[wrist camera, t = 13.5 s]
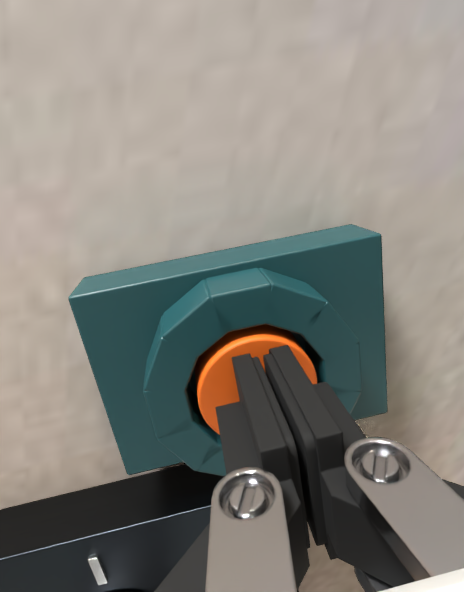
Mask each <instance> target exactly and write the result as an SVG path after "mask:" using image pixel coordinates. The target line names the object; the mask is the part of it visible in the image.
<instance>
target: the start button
mask: <svg viewBox="0 0 464 592" xmlns="http://www.w3.org/2000/svg"><path fill="white" fill-rule="evenodd" d="M284 345H288V346H289V348H290V349H291V351H292V352H293V354H294V356H295V357H296V359H297V360H298V362H299V364H300V365H301V367H302V368H303V370H304V372H305V373H306V375H307V376H308V378H309V379H310V381H311V383H312V384H317V376H316V371H315V368H314V366H313V364H312V362H311V360H310V359H309V357H308V356H307V354H306V353H305V352H304V350H303V349H302V347H301V346H300V344H299V343H298V342H297V340H296V339H295V337H294V336H293V335H292V333H291V332H290V331H288V330H284V329H281V328H277V327H274V326H271V325H267V324H264V325H259V326H255V327H250V328H246V329H241V330H236V331H232V332H228V333H227V334H226V335H224V336H223V337H222V338H221V339H220V340H218V341H217V342H216V343H215V344H214V345H212V346H211V347H210V348H209V349H207V350H206V351H205V352H204V353H203V354H201V355H200V356H199V357H198V359H197V362H196V365H195V379H196V388H197V397H198V405H199V409H200V412H201V414H202V416H203V418H204V420H205V421H206V423H207V424H208V425H209V426H210V427H211V428H212V429H213V430H214V431H215V432H216V433H217V434H219V435H220V433H219V427H218V421H217V415H216V408H215V407H217V406H222V405H226V404H231V403H235V402H239V401H240V400H239V394H238V389H237V384H236V379H235V373H234V368H233V363H232V357H235V356H239V355H244V354H248V353H250V355H251V357H252V358H253V357H257V356H258V358H259V360H260V362H261V364H262V367H263V369H264V371H265V366H264V360H263V355H266V354H269V349H271V348H275V347H280V346H284ZM265 374H266V372H265Z"/></svg>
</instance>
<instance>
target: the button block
mask: <svg viewBox="0 0 464 592" xmlns="http://www.w3.org/2000/svg"><path fill="white" fill-rule="evenodd" d="M69 302H70V305H71V308H72V311H73V314H74V317H75V320H76V323H77V326H78V329H79V332H80V335H81V338H82V341H83V344H84V347H85V350H86V353H87V356H88V359H89V362H90V365H91V368H92V371H93V374H94V377H95V379H96V382H97V385H98V388H99V391H100V394H101V397H102V400H103V403H104V406H105V409H106V412H107V415H108V418H109V421H110V424H111V427H112V430H113V433H114V436H115V439H116V442H117V445H118V448H119V451H120V454H121V457H122V460H123V463H124V466H125V469H126V472H127V474H128V475H132V474H136V473H140V472H144V471H149V470H153V469H157V468H161V467H165V466H169V465H173V464H177V463H181V462H184V463H186V464H187V465H188V466H189V467H190V468H192V469H193V470H194V471H198V472H203V473H208V474H214V475H219V476H225V475H227V474H226V468H225V462H224V456H223V450H222V444H221V438H220V435H219V434H217V433H216V432H215V431H214V430H213V429H212V428H211V427H210V426H209V425H208V424H207V423H206V421H205V420H204V418H203V416H202V414H201V412H200V409H199V405H198V397H197V388H196V379H195V365H196V362H197V359H198V357H199V356H200V355H201V354H203V353H204V352H205V351H206V350H207V349H209V348H210V347H211V346H212V345H214V344H215V343H216V342H217V341H218V340H220V339H221V338H222V337H223V336H224V335H226V334H227V333H228V332H232V331H236V330H241V329H246V328H250V327H255V326H259V325H264V324H267V325H271V326H274V327H277V328H281V329H284V330H288V331H290V332H291V333H292V335H293V336H294V337H295V339H296V340H297V342H298V343H299V344H300V346H301V347H302V349H303V350H304V352H305V353H306V354H307V356H308V357H309V359H310V360H311V362H312V364H313V366H314V368H315V371H316V376H317V383H322V382H327V383H328V384H329V385H330V387H331V388H332V390H333V391H334V392H335V394H336V395H337V397H338V398H339V399H340V401H341V402H342V404H343V405H344V407H345V408H346V409H347V411H348V412H349V414H350V415H351V417H352V418H353V419H354V420H358V419H362V418H366V417H370V416H375V415H379V414H383V413H386V412H387V411H388V409H387V381H386V353H385V325H384V297H383V270H382V242H381V234H379V233H376V232H373V231H370V230H367V229H364V228H361V227H358V226H355V225H352V224H350V225H345V226H340V227H335V228H330V229H325V230H320V231H315V232H310V233H305V234H300V235H295V236H290V237H285V238H280V239H275V240H270V241H265V242H260V243H255V244H250V245H245V246H240V247H235V248H230V249H225V250H220V251H215V252H210V253H205V254H200V255H195V256H190V257H185V258H180V259H175V260H170V261H165V262H160V263H155V264H150V265H145V266H140V267H135V268H130V269H125V270H120V271H115V272H110V273H105V274H100V275H95V276H90V277H85V278H83V280H82V281H81V282H80V283H79V285H78V286H77V287H76V288H75V290H74V291H73V292H72V294H71V295H70V296H69Z"/></svg>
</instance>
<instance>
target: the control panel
mask: <svg viewBox="0 0 464 592" xmlns="http://www.w3.org/2000/svg"><path fill="white" fill-rule="evenodd" d="M223 477H224V476H219V475H214V474H208V473H203V472H198V471H194V470H193V469H192V468H190V467H189V466H188V465H187V464H186V465H182V466H178V467H174V468H170V469H165V470H161V471H157V472H153V473H149V474H145V475H141V476H137V477H133V478H129V479H124V480H120V481H116V482H112V483H108V484H104V485H100V486H96V487H92V488H88V489H83V490H79V491H75V492H71V493H67V494H63V495H59V496H55V497H51V498H47V499H43V500H38V501H34V502H30V503H26V504H22V505H18V506H14V507H10V508H6V509H2V510H0V592H154V591H155V590H156V589H157V588H158V586H159V585H160V584H161V583H162V581H163V580H164V579H165V578H166V576H167V575H168V574H169V573H170V571H171V570H172V569H173V568H174V566H175V565H176V564H177V563H178V561H179V560H180V559H181V558H182V556H183V555H184V554H185V553H186V552H187V550H188V549H189V548H190V547H191V545H192V544H193V543H194V542H195V540H196V539H197V538H198V537H199V535H200V534H201V533H202V532H203V530H204V529H205V528H206V527H207V525H208V524H209V523H210V514H211V500H212V495H213V491H214V488H215V487H216V485H217V484H218V482H219V481H220V480H221V479H222V478H223Z"/></svg>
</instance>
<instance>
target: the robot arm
mask: <svg viewBox="0 0 464 592" xmlns="http://www.w3.org/2000/svg"><path fill="white" fill-rule="evenodd" d="M263 360H264V366H265V371H264V369H263V367H262V364H261V362H260V360H259V358H258V356H257V357H253V358H252V357H251V355H250V353H248V354H244V355H239V356H235V357H232V363H233V368H234V373H235V379H236V384H237V389H238V394H239V400H240V401H239V402H235V403H231V404H226V405H222V406H217V407H215V408H216V415H217V421H218V427H219V433H220V438H221V444H222V450H223V456H224V462H225V468H226V474H227V475H225V476H224V477H223V478H222V479H221V480H220V481H219V482H218V484H217V485H216V487H215V488H214V491H213V495H212V500H211V514H210V523H209V524H208V525H207V527H206V528H205V529H204V530H203V532H202V533H201V534H200V535H199V537H198V538H197V539H196V540H195V542H194V543H193V544H192V545H191V547H190V548H189V549H188V550H187V552H186V553H185V554H184V555H183V556H182V558H181V559H180V560H179V561H178V563H177V564H176V565H175V566H174V568H173V569H172V570H171V571H170V573H169V574H168V575H167V576H166V578H165V579H164V580H163V581H162V583H161V584H160V585H159V586H158V588H157V589H156V590H155V591H154V592H299V591H298V587H299V586H300V584H301V582H302V580H303V578H304V576H305V574H306V572H307V570H308V568H309V566H310V564H309V557H308V551H307V548H310V540H309V533H308V526H307V522H308V524H309V527H310V530H311V532H312V535H313V538H314V540H315V543H316V545H317V546H319V545H323V544H325V547H326V549H327V552H328V554H329V557H330V559H331V560H332V559H335V558H339V559H341V560H343V561H345V562H347V563H348V564H350V565H352V566H354V572H355V574H356V577H357V579H358V581H359V583H360V584H361V586H362V588H363V589H364V591H365V592H464V486H461V485H458V484H455V483H452V482H449V481H446V480H443V479H441V478H440V477H439V476H438V475H436V474H435V473H434V472H433V471H432V470H431V469H430V468H429V467H428V466H427V465H426V464H425V463H423V462H422V461H421V460H420V459H419V458H418V457H417V456H416V455H415V454H414V453H413V452H412V451H410V450H409V449H408V448H407V447H405V446H404V445H402V444H401V443H399V442H396V441H394V440H391V439H387V438H382V437H368V438H366V436H365V435H364V434H363V432H362V431H361V429H360V428H359V426H358V425H357V424H356V422H355V421H354V419H353V418H352V417H351V415H350V414H349V412H348V411H347V409H346V408H345V407H344V405H343V404H342V402H341V401H340V399H339V398H338V397H337V395H336V394H335V392H334V391H333V390H332V388H331V387H330V385H329V384H328V383H327V382H322V383H317V384H312V383H311V381H310V379H309V378H308V376H307V375H306V373H305V372H304V370H303V368H302V367H301V365H300V364H299V362H298V360H297V359H296V357H295V356H294V354H293V352H292V351H291V349H290V348H289V346H288V345H284V346H280V347H275V348H271V349H269V354H266V355H263ZM265 372H266V374H265Z"/></svg>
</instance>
